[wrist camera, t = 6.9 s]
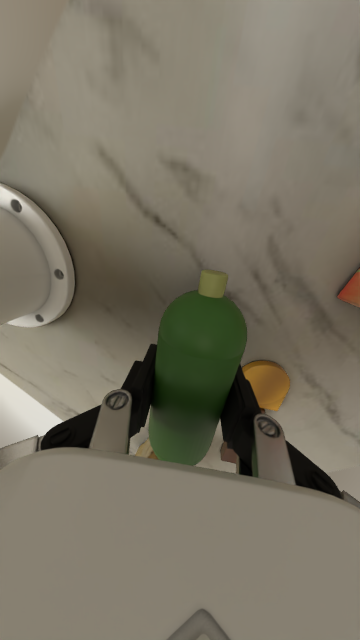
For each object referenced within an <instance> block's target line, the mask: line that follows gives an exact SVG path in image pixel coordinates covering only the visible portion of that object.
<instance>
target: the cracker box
mask: <svg viewBox="0 0 360 640" xmlns="http://www.w3.org/2000/svg"><path fill="white" fill-rule="evenodd" d="M337 298H339V299H340V300H342V301H345V302H347V303H349V304H352V305H354V306H356V307H358V308H360V268H359V269H358V271H357V272H356V273H355V274H354V276H353V277H352V278H351V280H350V281H349V282H348V283H347V284H346V286H345V287H344V288H343V289H342V291H341V292H340V294H339V295H338V296H337Z"/></svg>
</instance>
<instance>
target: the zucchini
mask: <svg viewBox="0 0 360 640" xmlns="http://www.w3.org/2000/svg"><path fill="white" fill-rule="evenodd" d="M227 280H228V275H227V274H226V273H223V272H219V271H214V270H202V272H201V277H200V282H199V287H198V290H195V291H191V292H188V293H185V294H183V295H181V296H179V297H178V298H176V299H175V300H174V301H173V302H172V303H171V304H170V305H169V306H168V308H167V309H166V310H165V312H164V314H163V316H162V318H161V322H160V327H159V333H158V342H157V352H156V361H155V371H154V381H153V390H152V400H151V409H150V418H149V430H148V431H149V441H150V445H151V447H152V449H153V451H154V453H155V455H156V456H157V458H158V459H159V460H162V461H168V462H173V463H179V464H185V465H190V466H194V465H196V464H197V463H198V462H200V461H201V460H202V459H203V457H204V456H205V455H206V453H207V451H208V450H209V447H210V445H211V442H212V439H213V436H214V434H215V431H216V428H217V425H218V422H219V420H220V417H221V414H222V411H223V408H224V406H225V403H226V400H227V397H228V394H229V392H230V389H231V386H232V383H233V380H234V378H235V375H236V372H237V369H238V366H239V364H240V361H241V358H242V355H243V352H244V350H245V346H246V341H247V327H246V323H245V319H244V317H243V315H242V313H241V311H240V309H239V308H238V307H237V306H236V305H235V303H234V302H233V301H231V300H230V299H229V298H227V297H226V296H224V291H225V288H226V284H227Z"/></svg>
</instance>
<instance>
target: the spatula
mask: <svg viewBox="0 0 360 640" xmlns="http://www.w3.org/2000/svg"><path fill="white" fill-rule="evenodd" d="M242 370H243V373H244V376H245V378H246V379H247V380H249V381H250V384H251V386H252V389H253V391H254V394H255V396H256V399H257V402H258V404H259V407H260V409H261V412H262V414H265V410H264V409H269V410H274V411H278V409H279V407H280V405H281V403H282V402H283V400H284V398H285V396H286V394H287V392H288V390H289V387H290V379H289V377H288V375H287V373H286V372H285V370H284V369H283V368H282V367H281V366H280V365H278V364H276V363H274V362H270V361H255V362H251V363H249V364H247V365H245V366H244V367H242ZM220 453H221V460H222V461H227V462H231V463H236V457H237V454H236V453H235V452H234V450H233V449H227V442H225V441H224V443H223V446H222V448H221V451H220Z"/></svg>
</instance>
